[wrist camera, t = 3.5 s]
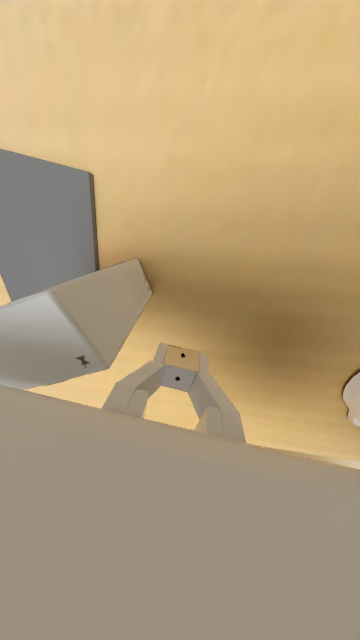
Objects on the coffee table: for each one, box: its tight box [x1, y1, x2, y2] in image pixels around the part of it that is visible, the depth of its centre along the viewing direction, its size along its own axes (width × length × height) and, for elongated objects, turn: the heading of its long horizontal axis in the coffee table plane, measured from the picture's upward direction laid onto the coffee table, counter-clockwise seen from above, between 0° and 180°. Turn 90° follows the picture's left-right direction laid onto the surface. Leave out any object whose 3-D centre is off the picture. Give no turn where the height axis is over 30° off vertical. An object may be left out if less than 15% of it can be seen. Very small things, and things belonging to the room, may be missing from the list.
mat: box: [0, 149, 99, 302], centre depth 17 cm, size 12×18×1 cm, turn 167°
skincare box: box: [0, 258, 152, 390], centre depth 12 cm, size 6×4×12 cm
